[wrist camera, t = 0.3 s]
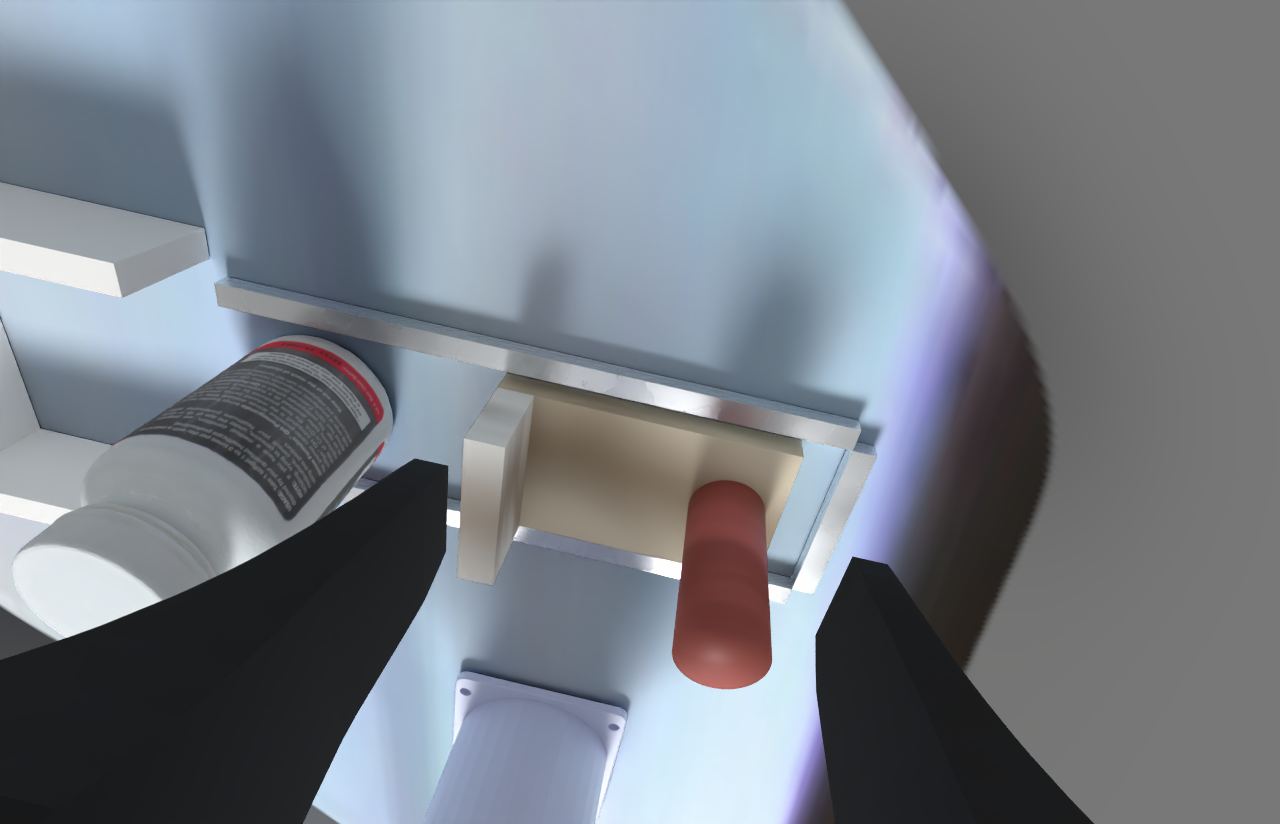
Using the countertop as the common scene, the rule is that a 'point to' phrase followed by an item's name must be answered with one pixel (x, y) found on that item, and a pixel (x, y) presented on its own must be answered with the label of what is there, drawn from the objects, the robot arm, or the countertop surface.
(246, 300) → the track
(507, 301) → the countertop surface
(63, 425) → the countertop surface
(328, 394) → the pill bottle
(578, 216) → the countertop surface
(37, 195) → the frame
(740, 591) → the red peg in tray
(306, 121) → the countertop surface
